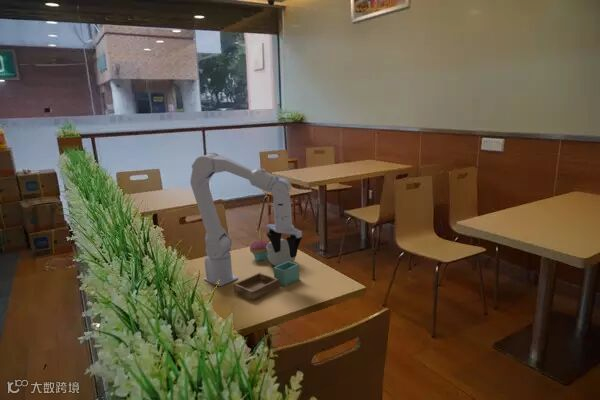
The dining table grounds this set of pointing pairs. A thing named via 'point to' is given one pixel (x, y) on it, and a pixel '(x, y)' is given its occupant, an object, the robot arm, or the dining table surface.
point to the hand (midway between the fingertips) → (285, 254)
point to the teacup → (279, 254)
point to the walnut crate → (256, 286)
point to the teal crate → (286, 273)
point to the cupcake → (259, 248)
